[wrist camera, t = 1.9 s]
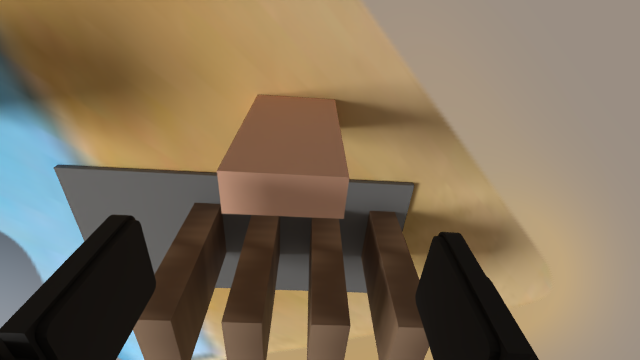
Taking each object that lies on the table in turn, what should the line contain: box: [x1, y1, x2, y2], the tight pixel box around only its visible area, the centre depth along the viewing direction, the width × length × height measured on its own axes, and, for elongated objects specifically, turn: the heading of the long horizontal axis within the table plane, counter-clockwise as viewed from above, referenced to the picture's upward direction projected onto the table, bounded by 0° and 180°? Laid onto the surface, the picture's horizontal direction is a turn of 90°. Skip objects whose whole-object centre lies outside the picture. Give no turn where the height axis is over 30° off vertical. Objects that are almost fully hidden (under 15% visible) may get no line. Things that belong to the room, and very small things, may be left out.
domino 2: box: [221, 215, 280, 360], centre depth 21 cm, size 2×5×10 cm, turn 176°
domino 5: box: [361, 211, 429, 360], centre depth 22 cm, size 2×5×10 cm, turn 176°
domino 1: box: [133, 203, 227, 360], centre depth 21 cm, size 2×5×10 cm, turn 176°
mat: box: [54, 165, 414, 293], centre depth 26 cm, size 12×26×1 cm, turn 86°
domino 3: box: [217, 95, 349, 219], centre depth 17 cm, size 2×5×10 cm, turn 86°
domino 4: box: [307, 218, 350, 360], centre depth 22 cm, size 2×5×10 cm, turn 176°
